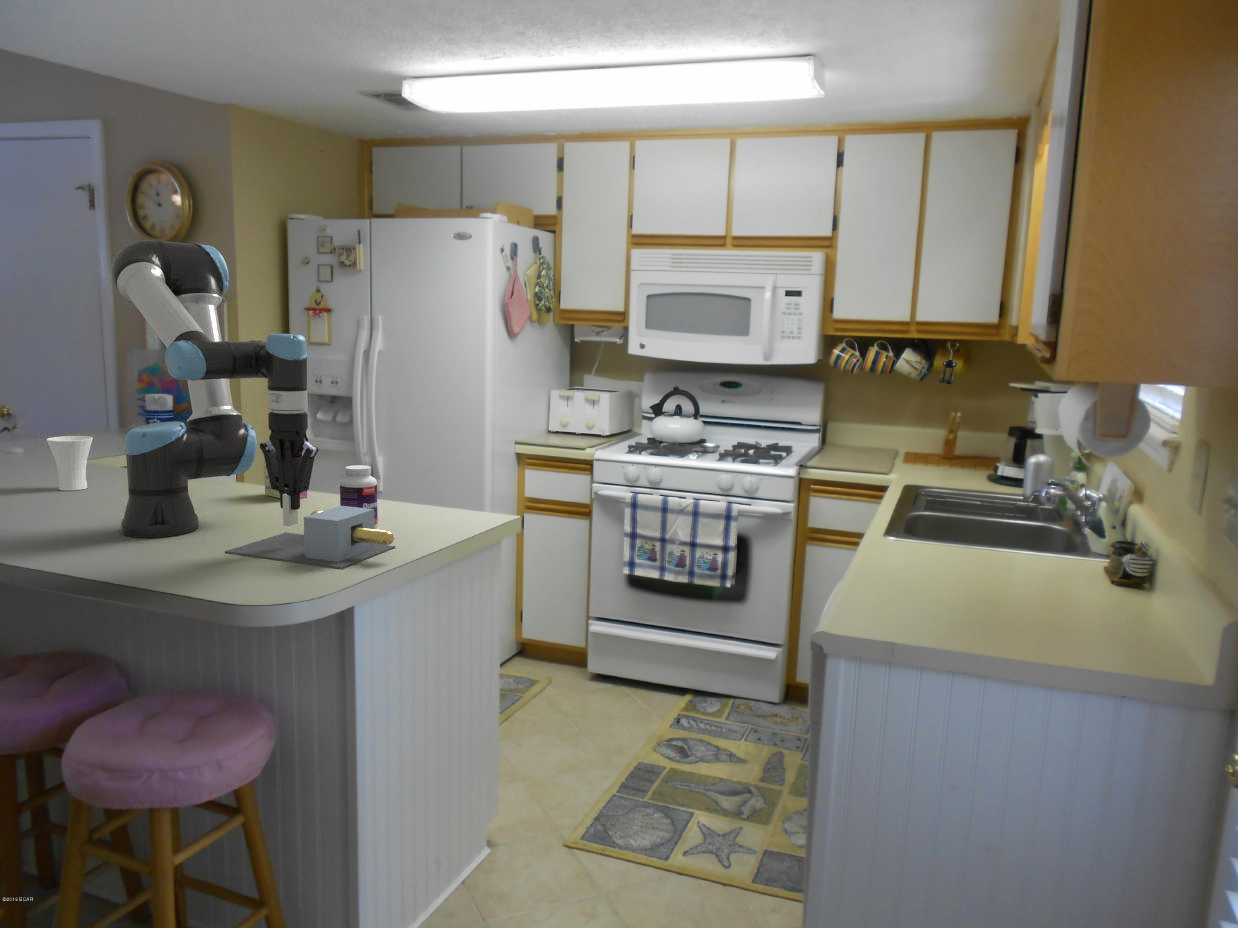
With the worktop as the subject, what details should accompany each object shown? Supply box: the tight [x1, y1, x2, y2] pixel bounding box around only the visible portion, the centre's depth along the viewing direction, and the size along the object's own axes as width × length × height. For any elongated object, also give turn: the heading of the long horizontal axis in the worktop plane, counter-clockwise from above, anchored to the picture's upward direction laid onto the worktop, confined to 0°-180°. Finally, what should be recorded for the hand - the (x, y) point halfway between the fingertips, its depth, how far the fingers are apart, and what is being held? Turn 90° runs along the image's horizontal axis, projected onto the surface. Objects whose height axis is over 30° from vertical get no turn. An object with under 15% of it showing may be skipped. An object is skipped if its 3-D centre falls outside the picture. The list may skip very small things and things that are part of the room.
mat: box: [224, 532, 396, 570], centre depth 184 cm, size 28×18×1 cm, turn 71°
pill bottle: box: [339, 464, 379, 530], centre depth 201 cm, size 8×8×14 cm
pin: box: [309, 509, 395, 546], centre depth 180 cm, size 18×8×8 cm, turn 71°
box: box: [263, 453, 308, 500], centre depth 236 cm, size 10×6×12 cm, turn 58°
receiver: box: [303, 505, 376, 562], centre depth 181 cm, size 8×12×8 cm, turn 161°
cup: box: [46, 435, 94, 492], centre depth 238 cm, size 10×10×14 cm
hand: (290, 524), depth 185 cm, fingers closed
